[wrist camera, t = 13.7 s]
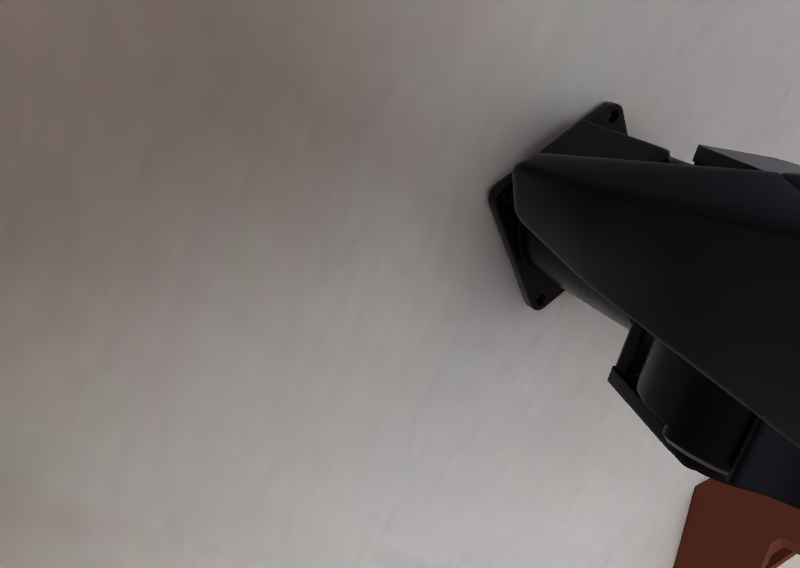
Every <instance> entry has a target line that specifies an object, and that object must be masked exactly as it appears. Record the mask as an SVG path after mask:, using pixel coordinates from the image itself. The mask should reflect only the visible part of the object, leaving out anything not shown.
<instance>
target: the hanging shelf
mask: <svg viewBox="0 0 800 568" xmlns="http://www.w3.org/2000/svg"><path fill="white" fill-rule="evenodd" d="M795 554H799V555H800V510H799V509H797V508H795V507H793V506H790V505H788V504H785V503H783V502H780V501H778V500H775V499H773V498H770V497H768V496H765V495H761V494H758V493H754V492H751V491H747V490H743V489H740V488H736V487H733V486H730V485H727V484H724V483H721V482H719V481H716V480H714V479H712V478H711V479H709V480H707V481H705V482H704V483H702V484H700V485H698V486H696V488H695V491H694V496H693V500H692V503H691V507H690V511H689V515H688V518H687V522H686V526H685V530H684V533H683V537H682V541H681V545H680V548H679V552H678V556H677V559H676V563H675V567H674V568H777V567H778V566H780V565H781V564H782V563H784V562H785V561H787V560H788V559H790V558H791V557H793V556H794V555H795Z"/></svg>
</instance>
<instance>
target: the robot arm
mask: <svg viewBox="0 0 800 568" xmlns="http://www.w3.org/2000/svg"><path fill="white" fill-rule="evenodd" d="M610 114H611V115H610ZM609 115H610V117H609ZM693 161H694V162H695V163H694V165H692V164H689V163H686V162H684V161H681V160H678V159H675V158H673V157H670V152H669V151H668V150H667V149H665V148H662V147H659V146H656V145H653V144H651V143H648V142H645V141H642V140H639V139H637V138H634V137H631V136H628V134H627V129H626V124H625V119H624V114H623V109H622V107H621V106H620V105H619V104H616V103H612V102H606V103H604V104H603V105H601V106H600V107H599V108H597V109H596V110H595V111H593V112H592V113H591V114H589V115H588V116H587V117H585V118H584V119H583V120H581V121H580V122H579V123H577V124H576V125H575V126H573V127H572V128H571V129H569V130H568V131H566V132H565V133H564V134H562V135H561V136H560V137H558V138H557V139H556V140H554V141H553V142H552V143H550V144H549V145H548V146H546V147H545V148H544V149H542V150H541V151H540V152H538V153H534V154H532V155H530V156H528V157H527V158H525V159H524V160H522V161H521V162H519V163H518V164H516V165H515V167H514V169H513V172H512V173H510V174H509V175H508V176H506V177H505V178H504V179H502V180H501V181H500V182H498V183H497V184H496V185H495V186H494V187H493V188H492V189H491V191H490V193H489V197H488V200H489V205H490V207H491V210H492V213H493V215H494V218H495V221H496V223H497V226H498V229H499V232H500V234H501V237H502V240H503V242H504V245H505V248H506V251H507V253H508V256H509V259H510V261H511V264H512V267H513V269H514V272H515V275H516V278H517V280H518V283H519V286H520V288H521V291H522V294H523V296H524V299H525V302H526V304H527V305H528V306H530V307H531V308H533V309H534V310H540V309H542V308H544V307H545V306H546V305H547V304H549V303H550V302H551V301H552V300H554V299H555V298H556V297H557V296H559V295H560V294H561V293H562V292H564V291H565V290H566V291H567V292H569V293H571V294H572V295H574V296H575V297H577V298H579V299H580V300H582V301H583V302H585V303H587V304H588V305H590V306H592V307H593V308H595V309H596V310H598V311H600V312H601V313H603V314H604V315H606V316H608V317H609V318H611V319H612V320H614V321H616V322H617V323H619V324H620V325H622V326H624V327H625V328H627V329H628V330H629V333H628V335H627V338H626V340H625V343H624V346H623V348H622V351H621V353H620V356H619V358H618V361H617V364H616V366H613V367H612V369H611V372H610V375H609V377H608V382H609V383H610V384H611V385H612V386H613V387H614V389H615V390H616V391H617V392H618V393H619V394H620V395H621V397H622V398H623V399H624V400H625V401H626V402H627V403H628V405H629V406H630V407H631V408H632V409H633V410H634V411H635V412H636V414H637V415H638V416H639V417H640V418H641V419H642V420H643V422H644V423H645V424H646V425H647V426H648V427H649V428H650V430H651V431H652V432H653V433H654V434H655V435H656V436H657V438H658V439H659V440H660V441H661V442H662V443H663V444H664V446H665V447H666V448H667V449H668V450H669V451H670V452H671V453H672V454H673V455H674V456H675V457H676V458H677V459H678V460H679V461H680V462H681V463H682V464H683V465H684V466H686V467H687V468H690V469H692V470H696V471H698V472H699V473H701V474H703V475H705V476H707V477H710V478H712V479H714V480H716V481H719V482H721V483H724V484H727V485H730V486H733V487H736V488H740V489H743V490H747V491H751V492H754V493H758V494H761V495H765V496H768V497H770V498H773V499H775V500H778V501H780V502H783V503H785V504H788V505H790V506H793V507H795V508H797V509H799V510H800V165H797V164H794V163H791V162H787V161H784V160H780V159H777V158H772V157H767V156H761V155H755V154H750V153H744V152H738V151H733V150H727V149H721V148H716V147H710V146H704V145H698V148H697V150H696V153H695V155H694V158H693ZM503 194H505V195H504V197H503V199H502V200H501V201H500V199H501V196H502V195H503Z"/></svg>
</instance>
